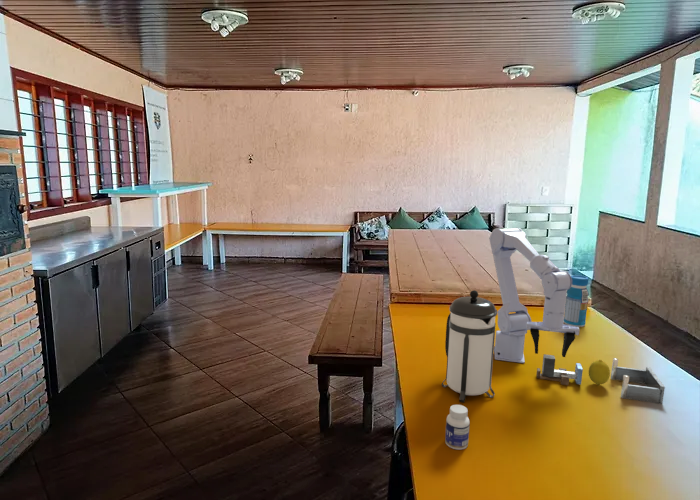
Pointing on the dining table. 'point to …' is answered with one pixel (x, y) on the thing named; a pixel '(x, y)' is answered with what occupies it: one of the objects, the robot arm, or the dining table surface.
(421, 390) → the dining table surface
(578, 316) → the beverage bottle
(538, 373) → the track
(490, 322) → the coffee press
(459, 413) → the pill bottle
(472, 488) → the dining table surface
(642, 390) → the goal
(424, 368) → the dining table surface
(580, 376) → the rod
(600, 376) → the lemon
